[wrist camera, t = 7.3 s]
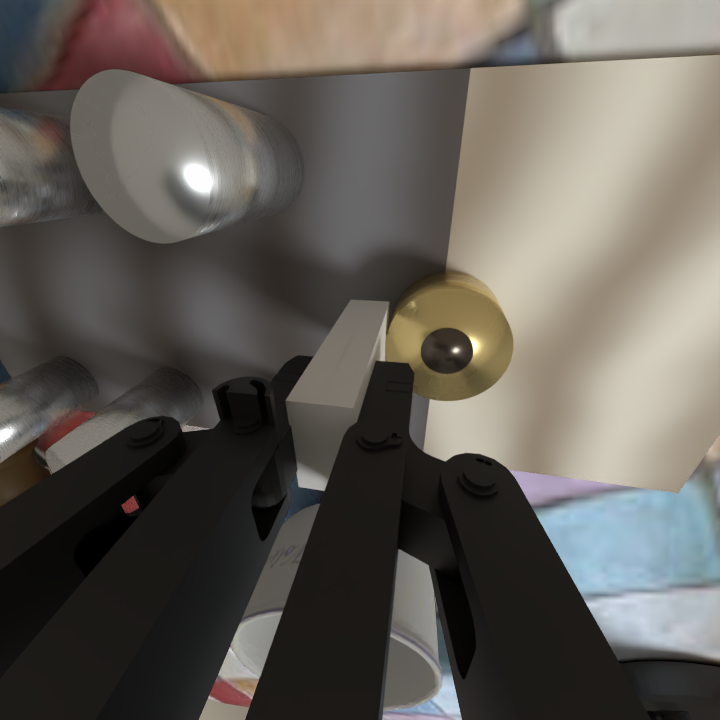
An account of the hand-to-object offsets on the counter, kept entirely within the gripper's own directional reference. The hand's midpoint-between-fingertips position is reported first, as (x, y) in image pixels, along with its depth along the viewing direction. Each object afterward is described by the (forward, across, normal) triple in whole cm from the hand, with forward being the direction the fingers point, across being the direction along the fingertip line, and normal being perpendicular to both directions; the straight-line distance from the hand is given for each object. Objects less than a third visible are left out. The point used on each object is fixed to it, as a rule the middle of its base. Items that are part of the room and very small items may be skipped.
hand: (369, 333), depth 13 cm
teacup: (+3, +2, +18) cm, 18 cm away
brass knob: (+1, -3, 0) cm, 3 cm away
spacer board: (+2, +4, 0) cm, 5 cm away
